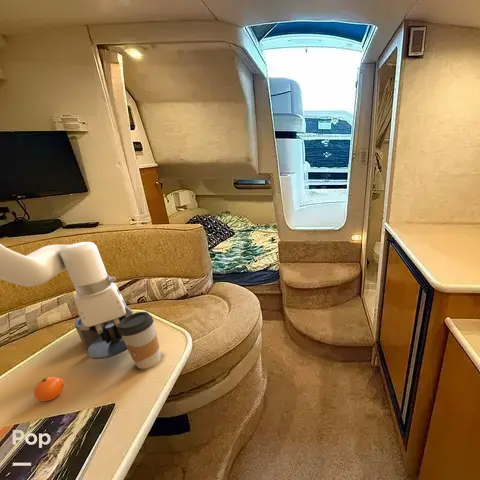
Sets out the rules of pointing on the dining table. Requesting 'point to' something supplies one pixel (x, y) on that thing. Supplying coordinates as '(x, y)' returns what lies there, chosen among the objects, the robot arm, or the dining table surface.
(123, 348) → the lid
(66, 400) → the dining table surface
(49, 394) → the orange
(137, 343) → the coffee cup
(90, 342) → the pot
